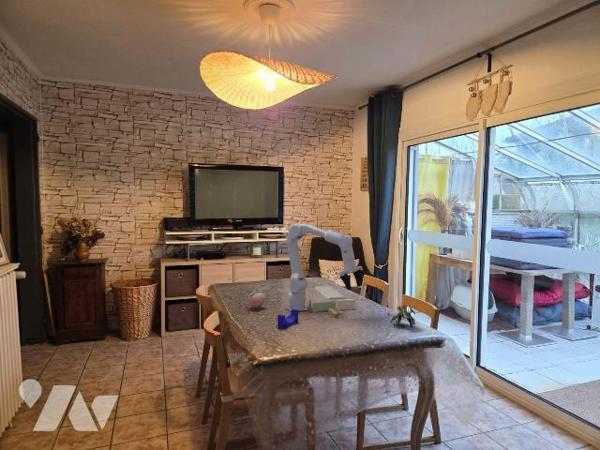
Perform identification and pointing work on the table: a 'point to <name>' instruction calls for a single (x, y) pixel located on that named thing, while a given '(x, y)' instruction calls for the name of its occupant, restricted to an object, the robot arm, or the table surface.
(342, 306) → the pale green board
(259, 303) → the decorative fruit
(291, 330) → the table surface
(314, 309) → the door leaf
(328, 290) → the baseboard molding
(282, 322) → the blue u-shaped block
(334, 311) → the doorstop block
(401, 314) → the dark green branching piece
